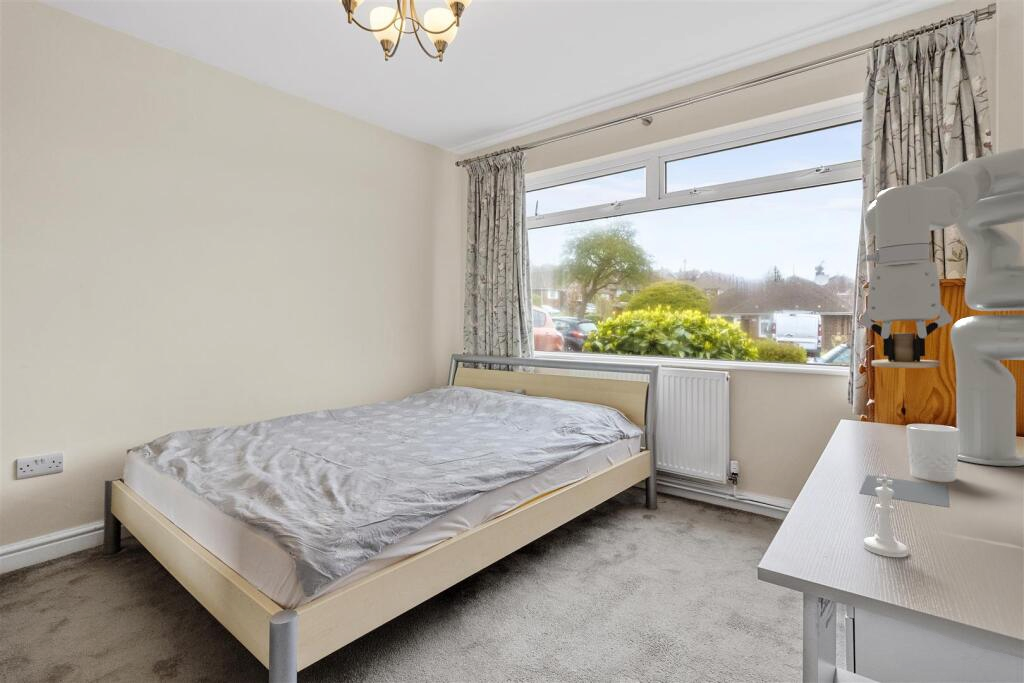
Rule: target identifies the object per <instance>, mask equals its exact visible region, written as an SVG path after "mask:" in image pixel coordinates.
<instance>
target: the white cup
mask: <svg viewBox="0 0 1024 683" xmlns="http://www.w3.org/2000/svg"><path fill="white" fill-rule="evenodd" d="M906 437H907V438H906V439H907V440H906V441H907V453H908V462H909V470H910V471H909V473H910V475H911V476H912V477H915V478H916V479H922V480H925V481H931V482H942V483H945V482H946V483H949V482H950V483H951V482H955V481H956V480H957V468H958V448H959V429H958V428H957V427H954V426H948V425H944V424H943V425H942V424H934V423H933V424H931V423H911V424H910V423H909V424H907V425H906Z"/></svg>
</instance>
